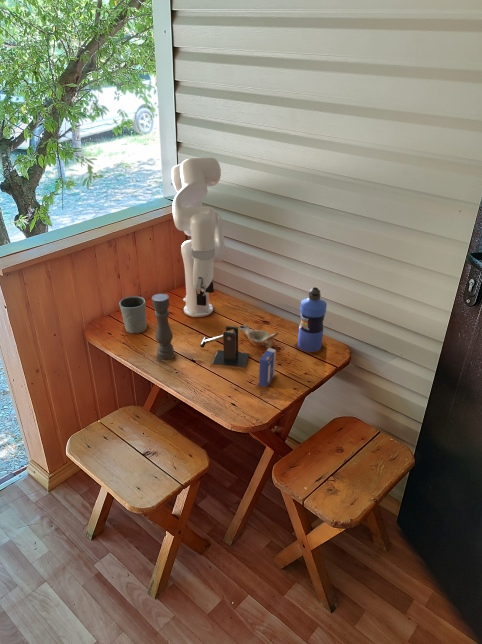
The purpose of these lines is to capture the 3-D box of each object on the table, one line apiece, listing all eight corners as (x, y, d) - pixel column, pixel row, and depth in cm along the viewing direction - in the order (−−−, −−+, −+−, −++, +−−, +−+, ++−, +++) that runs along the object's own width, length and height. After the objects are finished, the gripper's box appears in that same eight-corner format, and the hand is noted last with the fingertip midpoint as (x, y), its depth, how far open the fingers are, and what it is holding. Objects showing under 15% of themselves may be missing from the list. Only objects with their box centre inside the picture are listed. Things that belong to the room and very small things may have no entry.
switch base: (212, 366, 172) (211, 334, 165) (218, 352, 180) (217, 321, 172) (244, 369, 170) (245, 338, 163) (249, 356, 178) (249, 325, 170)
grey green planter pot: (140, 336, 189) (137, 309, 182) (118, 331, 191) (114, 305, 185) (152, 324, 197) (149, 298, 190) (131, 320, 199) (127, 294, 193)
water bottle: (304, 356, 178) (310, 296, 164) (292, 343, 185) (297, 285, 171) (326, 351, 181) (333, 291, 167) (313, 339, 188) (319, 281, 174)
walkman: (266, 389, 161) (267, 360, 154) (258, 387, 162) (259, 358, 155) (274, 377, 167) (276, 348, 160) (267, 375, 168) (268, 346, 161)
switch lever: (202, 349, 171) (199, 343, 170) (205, 341, 175) (202, 336, 174) (234, 339, 167) (231, 334, 166) (237, 332, 171) (234, 326, 170)
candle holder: (155, 355, 177) (149, 295, 164) (172, 351, 180) (166, 292, 166) (160, 364, 173) (153, 302, 159) (176, 360, 175) (171, 299, 161)
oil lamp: (268, 358, 176) (269, 335, 171) (231, 335, 190) (231, 313, 184) (284, 350, 181) (286, 327, 176) (248, 328, 195) (248, 306, 189)
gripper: (199, 241, 165) (201, 286, 174) (184, 262, 151) (187, 309, 160) (220, 243, 164) (221, 288, 173) (207, 264, 150) (209, 311, 159)
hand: (205, 298), depth 167 cm, fingers open, 9 cm apart
